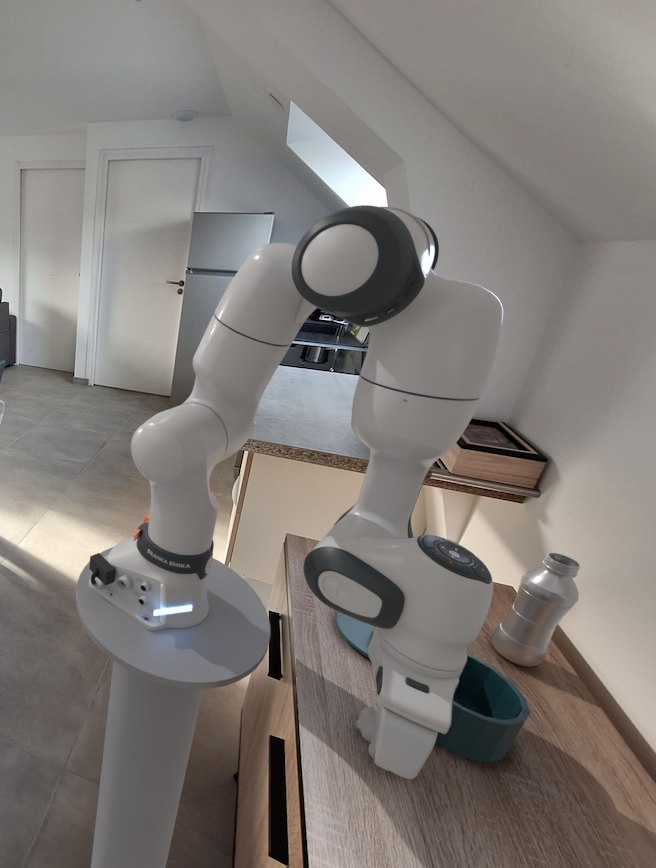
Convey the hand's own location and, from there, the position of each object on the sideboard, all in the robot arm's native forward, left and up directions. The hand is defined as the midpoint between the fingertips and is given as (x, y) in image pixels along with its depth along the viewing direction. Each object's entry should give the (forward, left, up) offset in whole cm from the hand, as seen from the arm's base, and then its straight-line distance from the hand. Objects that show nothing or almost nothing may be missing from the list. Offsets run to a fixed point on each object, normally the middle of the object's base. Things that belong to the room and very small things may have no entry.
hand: (382, 734), depth 62 cm
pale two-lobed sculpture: (0, 0, -2) cm, 2 cm away
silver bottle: (+18, +32, -2) cm, 37 cm away
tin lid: (-1, +22, -1) cm, 22 cm away
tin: (+8, +11, -2) cm, 14 cm away
